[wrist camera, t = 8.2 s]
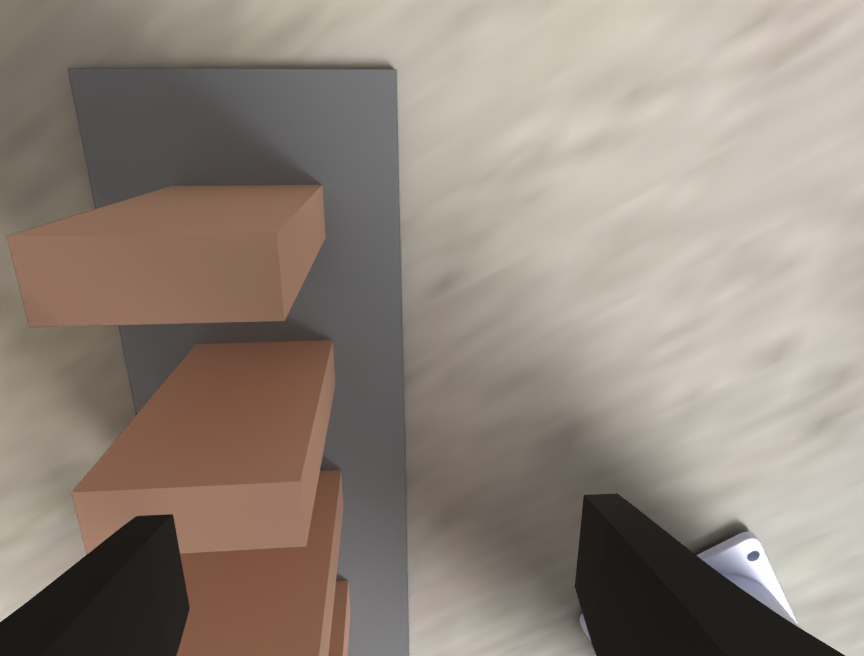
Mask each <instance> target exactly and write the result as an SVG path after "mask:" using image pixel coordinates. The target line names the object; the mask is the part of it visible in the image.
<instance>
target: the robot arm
mask: <svg viewBox="0 0 864 656" xmlns="http://www.w3.org/2000/svg"><path fill="white" fill-rule="evenodd" d="M750 552H751V553H750ZM749 553H750V554H749ZM575 588H576V592H577V595H578V599H579V602H580V606H581V610H582V614H581V616H580V619H579V621H580V624H581V627H582V629H583V631H584V632H585V634H586V635H587V637H588V638H589V640H590V641H591V643H592V645H593V648H594V650H595V652H596V655H597V656H845V655H843V654H842V653H840V652H838V651H837V650H835V649H833V648H832V647H830V646H828V645H827V644H825V643H823V642H822V641H820V640H818V639H817V638H815V637H814V636H812V635H810V634H809V633H807V632H805V631H804V630H802V629H801V628H800V626H799V624H798V622H797V620H796V618H795V616H794V613H793V611H792V609H791V607H790V605H789V603H788V600H787V598H786V596H785V594H784V592H783V590H782V587H781V585H780V583H779V581H778V579H777V577H776V574H775V572H774V570H773V568H772V566H771V564H770V562H769V559H768V557H767V555H766V553H765V551H764V549H763V546H762V544H761V542H760V540H759V539H758V538H757V537H756V536H755V535H754V534H753V533H751V532H743V533H740V534H738V535H736V536H734V537H732V538H730V539H728V540H726V541H724V542H722V543H720V544H718V545H716V546H714V547H712V548H710V549H708V550H706V551H704V552H702V553H700V554H698V555H695V554H694V553H693V552H691V551H690V550H689V549H687V548H686V547H685V546H684V545H682V544H681V543H680V542H678V541H677V540H676V539H675V538H673V537H672V536H671V535H670V534H668V533H667V532H666V531H664V530H663V529H662V528H661V527H659V526H658V525H657V524H656V523H654V522H653V521H652V520H651V519H649V518H648V517H647V516H646V515H644V514H643V513H642V512H641V511H639V510H638V509H637V508H636V507H634V506H633V505H632V504H630V503H629V502H628V501H626V500H625V499H624V498H622V497H621V496H620V495H618V494H599V495H584V500H583V510H582V520H581V530H580V540H579V550H578V560H577V571H576V581H575ZM189 610H190V606H189V601H188V595H187V589H186V584H185V578H184V573H183V567H182V561H181V556H180V550H179V545H178V539H177V533H176V528H175V522H174V517H173V514H167V515H145V516H136V517H134V518H133V519H132V520H130V521H129V522H128V523H126V524H125V525H124V526H122V527H121V528H120V529H118V530H117V531H116V532H115V533H113V534H112V535H111V536H110V537H108V538H107V539H106V540H105V541H103V542H102V543H101V544H100V545H98V546H97V547H96V548H95V549H93V550H92V551H91V552H90V553H88V554H87V555H86V556H85V557H83V558H82V559H81V560H80V561H78V562H77V563H76V564H75V565H74V566H72V567H71V568H70V569H68V570H67V571H66V572H65V573H63V574H62V575H61V576H60V577H58V578H57V579H56V580H55V581H53V582H52V583H51V584H50V585H48V586H47V587H46V588H44V589H43V590H42V591H41V592H39V593H38V594H37V595H36V596H34V597H33V598H32V599H31V600H29V601H28V602H27V603H25V604H24V605H23V606H22V607H20V608H19V609H17V610H16V611H15V612H13V613H12V614H11V615H9V616H8V617H7V618H5V619H4V620H3V621H1V622H0V656H177V652H178V649H179V646H180V642H181V639H182V635H183V632H184V628H185V624H186V621H187V617H188V613H189Z"/></svg>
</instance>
